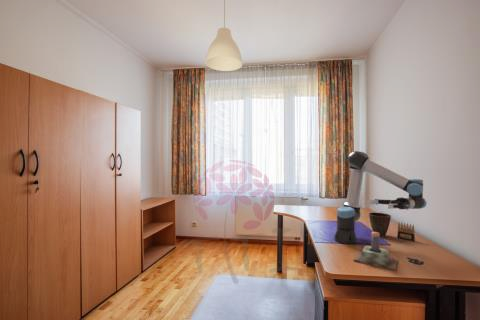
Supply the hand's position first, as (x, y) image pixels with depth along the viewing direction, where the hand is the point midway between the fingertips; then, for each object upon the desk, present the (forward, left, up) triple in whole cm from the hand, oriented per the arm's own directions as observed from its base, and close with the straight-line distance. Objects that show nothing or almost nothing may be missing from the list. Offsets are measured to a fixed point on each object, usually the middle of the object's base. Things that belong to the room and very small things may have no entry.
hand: (378, 204), depth 151 cm
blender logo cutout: (+17, +1, -31) cm, 35 cm away
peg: (0, -15, -29) cm, 33 cm away
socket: (0, -15, -30) cm, 34 cm away
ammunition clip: (+13, +45, -31) cm, 56 cm away
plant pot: (-4, +45, -31) cm, 55 cm away
